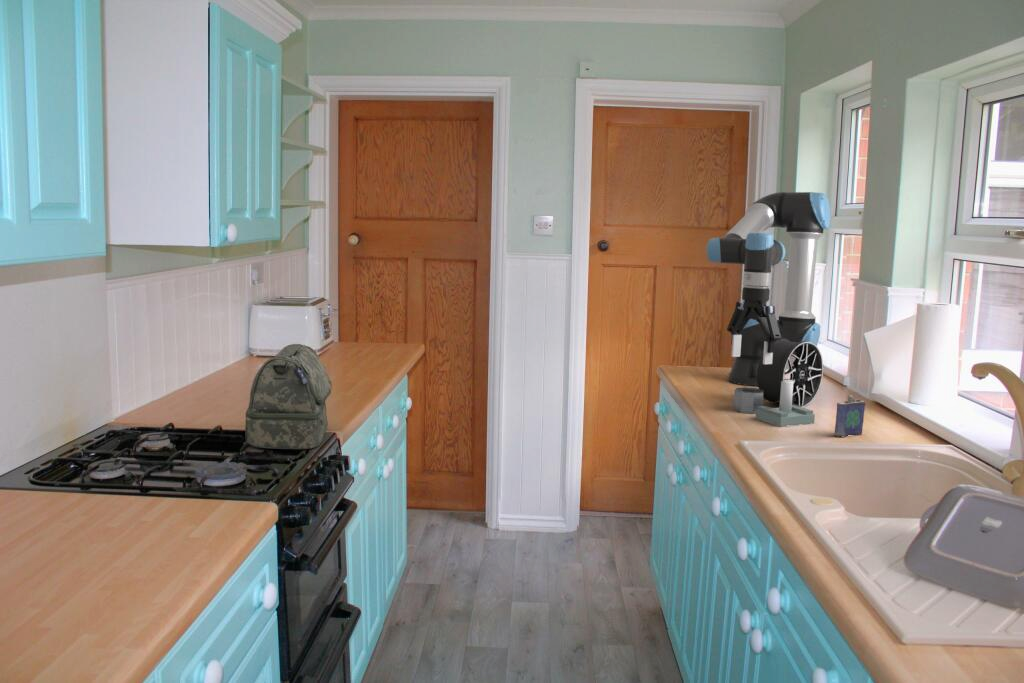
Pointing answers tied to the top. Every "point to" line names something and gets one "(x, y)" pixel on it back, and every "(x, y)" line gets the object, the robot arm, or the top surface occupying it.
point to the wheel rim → (792, 371)
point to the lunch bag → (289, 401)
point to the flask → (849, 417)
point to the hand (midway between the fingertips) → (751, 360)
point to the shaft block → (785, 410)
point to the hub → (748, 400)
